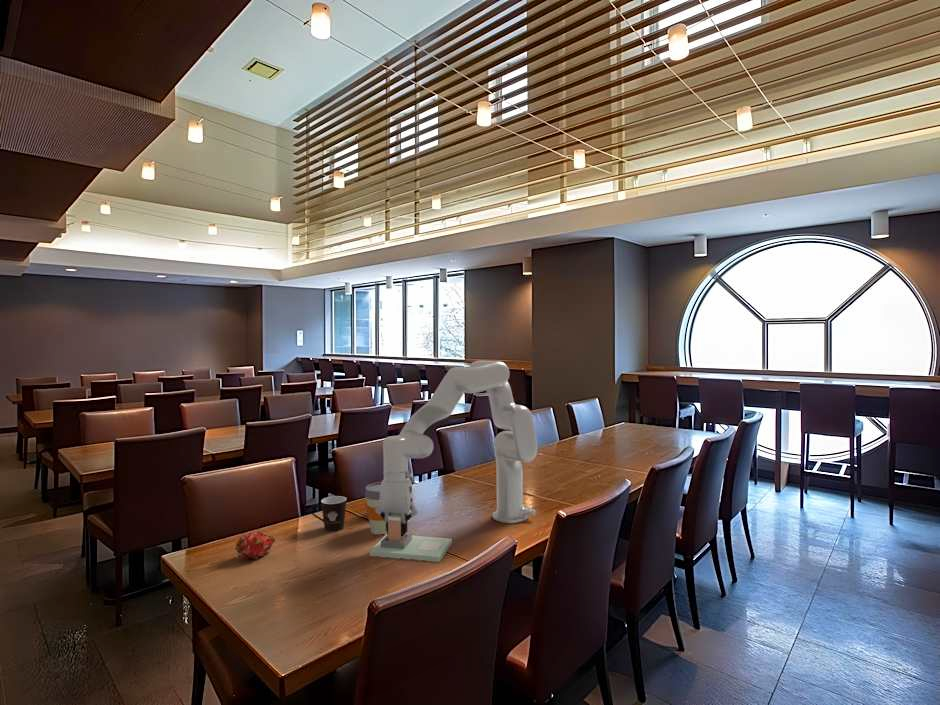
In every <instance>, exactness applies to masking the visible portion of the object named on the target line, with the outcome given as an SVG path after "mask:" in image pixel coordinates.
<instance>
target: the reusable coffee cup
mask: <svg viewBox="0 0 940 705" xmlns="http://www.w3.org/2000/svg"><path fill="white" fill-rule="evenodd" d="M381 483H382V481H377V482H373V483H370V484H367V485H366V486H365V490H364V491H365V492H364V497H365V499H366V500H365V501H366V502H365V509H366V515H367V516H366V517H367V518H368V522H369V528H370V533H372V532H373V533H372V534H374V533H376V534H375V535H378V534H384V535H386V534H387V531H386V522H385V521H384V519H383V518H382V517H381V515H379V514H378V513H376V512H375V510H376V508H377V506H378V505H379V501H380V489H381Z"/></svg>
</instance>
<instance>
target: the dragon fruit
mask: <svg viewBox="0 0 940 705" xmlns="http://www.w3.org/2000/svg"><path fill="white" fill-rule="evenodd" d="M275 540H276V539H275V538H274V537H273V536H272V535H271V534H268V533H267V534H266V533H263V530H259V531H257V532H255V531H254V530H253V531H251V532H250V533H243V534H242V536H241V537H240V538H239V539H238V540H237V542H236V543H235V544H236V545H235V548H234V549H235V551H236V552H237V557H239V558H243V557H245V559H246V560H250V558H251V559H253V560H257V559H258V557H266V556H268V554H270V552H269V551H270V550H271V548H272V546H273V545H274V543H275V542H276V541H275ZM265 555H266V556H265Z"/></svg>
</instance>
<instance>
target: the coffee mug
mask: <svg viewBox="0 0 940 705" xmlns="http://www.w3.org/2000/svg"><path fill="white" fill-rule="evenodd" d="M347 501H348V500H347V497H345V496H341V495H340V496H339V495H333V496H327V497H324V498H322V499H321V501H320V502H321V503H320V504H319V503H315V504H313V505H311V506H310V509H309V512H310V513H311V515H312V516H313V517H314V518H316V519H317V520H318V519H319V520H320V521H322V522H323V527H324V531H325V530H326V532H328V531H329V532H330V531H333V532H332V533H335V531H336V532H340V531H342V530H344V528H345V518H346V509H347ZM314 507H319V508H320V510H321V511H322V517H320V516H318V515H317V514H315V513H314V512H313V508H314ZM339 530H340V531H339ZM329 532H328V533H329ZM330 533H331V532H330Z"/></svg>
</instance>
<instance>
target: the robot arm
mask: <svg viewBox="0 0 940 705" xmlns="http://www.w3.org/2000/svg"><path fill="white" fill-rule="evenodd" d="M510 375H511V374H510V370H509V367H508V365H507V364H506V363H504V362H502V361H497V360H483V359H481V360H480V359H479V360H475V361H473V362H472V363H470V365H469V366H454V367H452V368H450V369H449V370H448V371H447V372H446V374H445V375H444V377H443V378H442V380H441V381H440V383H439V385H438V387H437V388H436V390H435V391H434V393H433V394H432V396H431V397H430V398H429V400H428V401H427V402H426V403H425V404H424V405H423V406H421V407H420V408H419V409H418V410H416V411H415V412H414V413H413V414H412V415H411V416H410V418H409V419H407V421H406V423H405V424H404V426H403V428H401V431H400V433H399V435H392V436H391V435H390V436H386V437H385V438H384V439H383V443H382V446H383V447H382V448H383V449H382V451H383V452H382V454H383V479H382V480H381V482H382V483H381V489H380V501H379V505H378V506H377V508H376V510H375V512H376V513H378V514H379V515H381V517H382V518H383V519H384V521H385V522H386V531H387V535H388V516H389V515H390V514H392V513H398V514H401V518H402V523H401V536H404V535H405V534H407V533H408V521H409V520H410V519H411V518H414V516H416V515H417V514H418V513H419V511H418V510H417V508H416V506H415V501H414V490H413V484H412V481H411V480H412V479H410V478H413V472H409V468H408V467H409V464H408V460H409V459H425V458H427V457H429V456H431V455H432V452H433V451H434V447H435V446H434V442H433V439H431V438H430V436H428V435H425V434H424V433H425V431H426V430H427V429H428V428H429V427H431V426H432V425H433V424H434V423H437V422H438V421H439V422H440V421H441V420H444V419H446V418H448V417H449V416H451V415H452V413H453V412H454V410H455V408H456V407H457V405H458V403H459V402H460V400H461V399H462V397H463V395H464V394H465V393H466V394H477V393H481V392H486V393H487V395H488V399H489V405H490V410H491V416H492V421H493V424H494V425H495V427H497V428H498V429H500V430H501V429H502V430H503V431H501V432H499V433H497V434H496V436H495V437H494V440H493V451H494V452H493V453H494V458H495V464H496V465H495V466H496V511H494V512H492V518H493V520H495V521H497V522H499V523H504V524H518V522H519V523H523V522H525V521H526V520H527V519H528V516H529V515H530V516H535V515H536V510H535V509H533V507H526V506H525V503H523V502H524V498H523V497H524V494H523V490H524V489H523V480H524V479H523V476H524V475H523V464H522V463H529V462H531V461H533V460H534V459H535V458H536V456H537V455H538V454H537V453H538V439H537V438H538V437H537V433H536V432H537V431H536V428H535V427H536V426H535V420H534V417H533V416H534V415H533V414H532V412H531V410H530V409H529V408H528V407H526V406H524V405H522V404H516V403H515V399H514V397H513V392H512V388H511V385H510V383H509V379H510ZM408 478H409V479H408ZM410 510H411V511H410Z"/></svg>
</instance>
